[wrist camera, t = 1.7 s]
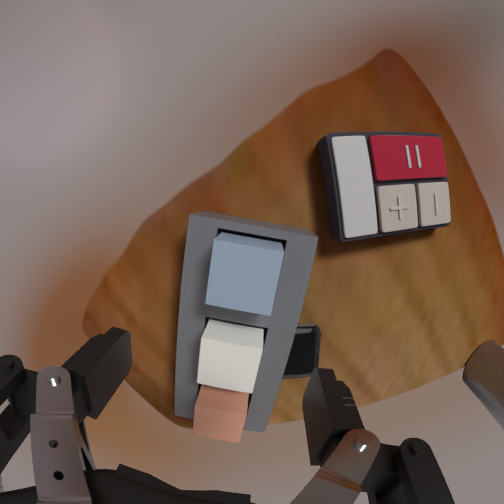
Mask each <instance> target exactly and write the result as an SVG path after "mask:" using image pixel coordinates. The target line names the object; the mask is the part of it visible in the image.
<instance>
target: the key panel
mask: <svg viewBox="0 0 504 504" xmlns="http://www.w3.org/2000/svg"><path fill="white" fill-rule="evenodd" d="M222 232H223V233H229V234H234V235H240V236H246V237H251V238H257V239H262V240H268V241H273V242H279V243H282V246H283V249H284V256H283V261H282V266H281V270H280V275H279V280H278V285H277V289H276V294H275V298H274V303H273V308H272V312H271V316H267V315H261V314H256V313H250V312H244V311H239V310H234V309H228V308H223V307H218V306H213V305H208V304H205V302H206V294H207V286H208V278H209V271H210V264H211V257H212V250H213V243H214V239H215V238H216V237H217V236H218V235H219V234H221V233H222ZM318 238H319V237H317V236H316V235H315V234H314V233H313V232H312V231H310V230H306V229H301V228H296V227H291V226H286V225H280V224H275V223H270V222H264V221H259V220H253V219H247V218H242V217H236V216H230V215H224V214H218V213H212V212H206V211H200V212H196V213H193V214H190V215H189V222H188V230H187V237H186V245H185V254H184V263H183V272H182V282H181V293H180V304H179V317H178V332H177V349H176V372H175V415H176V416H180V417H184V418H188V419H192V420H194V411H195V403H196V400H197V397H198V394H199V391H200V388H201V385H202V384H200V383H197V376H198V365H199V355H200V345H201V337H202V335H203V333H204V330H205V328H206V326H207V324H208V321H209V319H212V320H217V321H222V322H227V323H232V324H238V325H243V326H249V327H254V328H260V329H264V334H263V351H262V356H261V360H260V364H259V368H258V372H257V376H256V380H255V384H254V388H253V392H252V393H249V397H248V407H247V416H246V420H245V423H244V427H243V430H250V431H258V432H264V431H265V429H266V426H267V423H268V420H269V417H270V414H271V411H272V408H273V405H274V402H275V399H276V396H277V393H278V390H279V387H280V383H281V380H282V377H283V374H284V370H285V367H286V364H287V360H288V357H289V353H290V350H291V347H292V343H293V339H294V336H295V332H296V329H297V325H298V321H299V317H300V314H301V310H302V306H303V302H304V298H305V294H306V290H307V286H308V282H309V278H310V273H311V269H312V265H313V260H314V256H315V252H316V247H317V242H318Z"/></svg>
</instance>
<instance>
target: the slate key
mask: <svg viewBox="0 0 504 504" xmlns="http://www.w3.org/2000/svg"><path fill="white" fill-rule="evenodd" d="M283 256H284V249H283V246H282V243H279V242H273V241H268V240H262V239H257V238H251V237H246V236H240V235H234V234H229V233H223V232H222V233H221V234H219V235H218V236H217V237H216V238H215V239H214V243H213V250H212V257H211V264H210V271H209V278H208V286H207V294H206V302H205V304H208V305H213V306H218V307H223V308H228V309H234V310H239V311H244V312H250V313H256V314H261V315H267V316H271V312H272V308H273V303H274V298H275V294H276V289H277V285H278V280H279V275H280V270H281V266H282V261H283Z"/></svg>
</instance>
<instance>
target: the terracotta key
mask: <svg viewBox="0 0 504 504" xmlns="http://www.w3.org/2000/svg"><path fill="white" fill-rule="evenodd" d="M248 397H249V393H246V392H240V391H234V390H229V389H223V388H218V387H213V386H209V385H204V384H202V385H201V388H200V391H199V394H198V397H197V400H196V403H195V411H194V425H193V434H195V435H199V436H203V437H208V438H213V439H218V440H224V441H229V442H235V443H239V442H240V438H241V435H242V431H243V427H244V423H245V420H246V416H247V407H248Z"/></svg>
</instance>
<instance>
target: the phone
mask: <svg viewBox="0 0 504 504" xmlns="http://www.w3.org/2000/svg"><path fill="white" fill-rule="evenodd" d="M320 338H321V332H320V329H319V327H318V326H317V325H316V324H313V323H308V324H298V325H297V329H296V332H295V336H294V339H293V343H292V347H291V350H290V353H289V357H288V360H287V364H286V367H285V370H284V374H283V377H282V378H300V377H311V374H312V372H313V370H314V368H318V363H319V351H320Z"/></svg>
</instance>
